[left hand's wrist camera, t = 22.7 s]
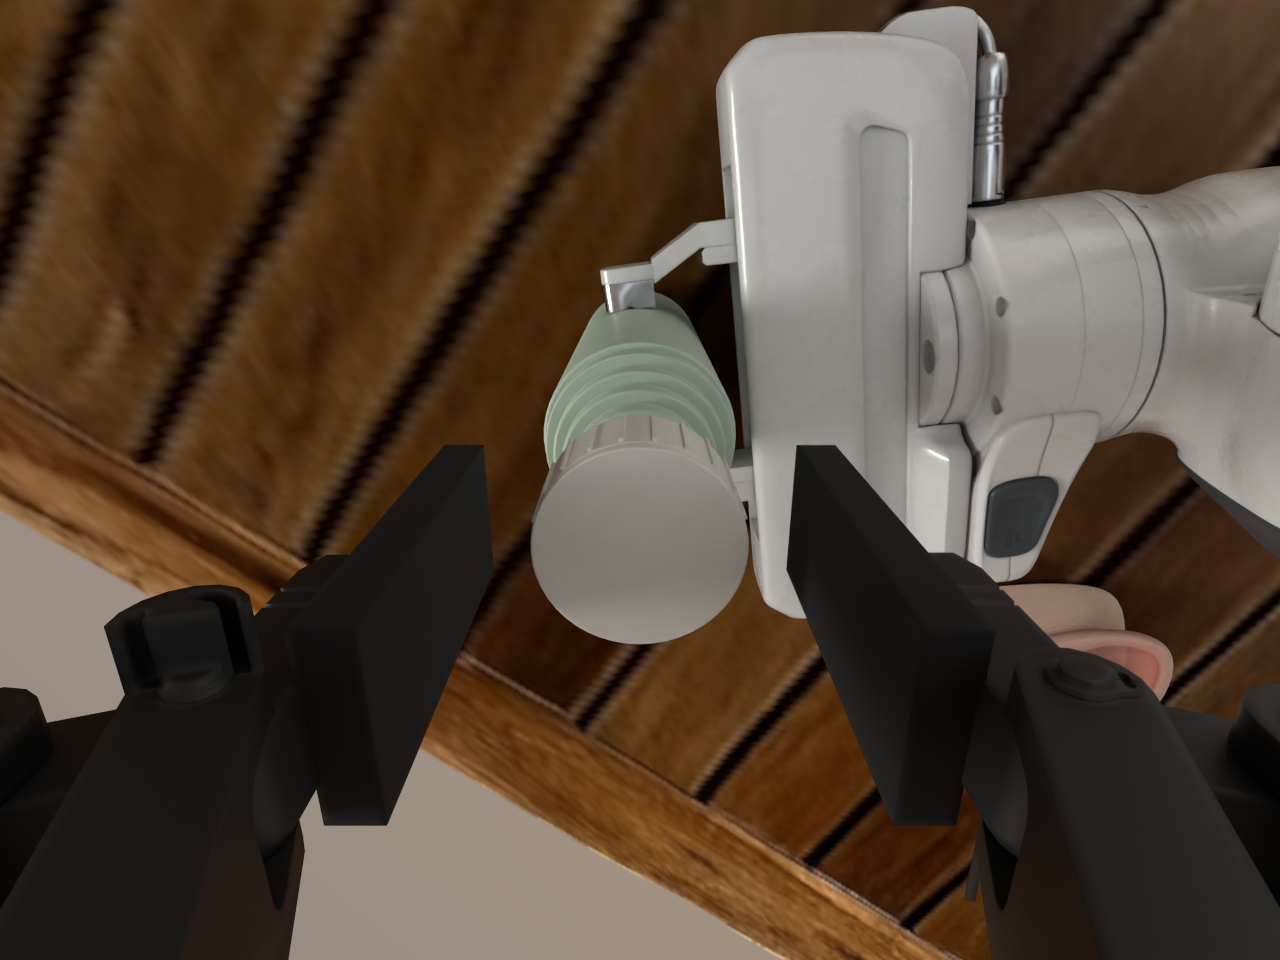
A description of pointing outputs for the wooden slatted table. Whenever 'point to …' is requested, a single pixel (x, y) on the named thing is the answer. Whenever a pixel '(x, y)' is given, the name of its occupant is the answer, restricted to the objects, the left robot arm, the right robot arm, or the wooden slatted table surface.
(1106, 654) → the anatomical model
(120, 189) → the wooden slatted table surface
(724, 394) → the bottle
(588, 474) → the cap
